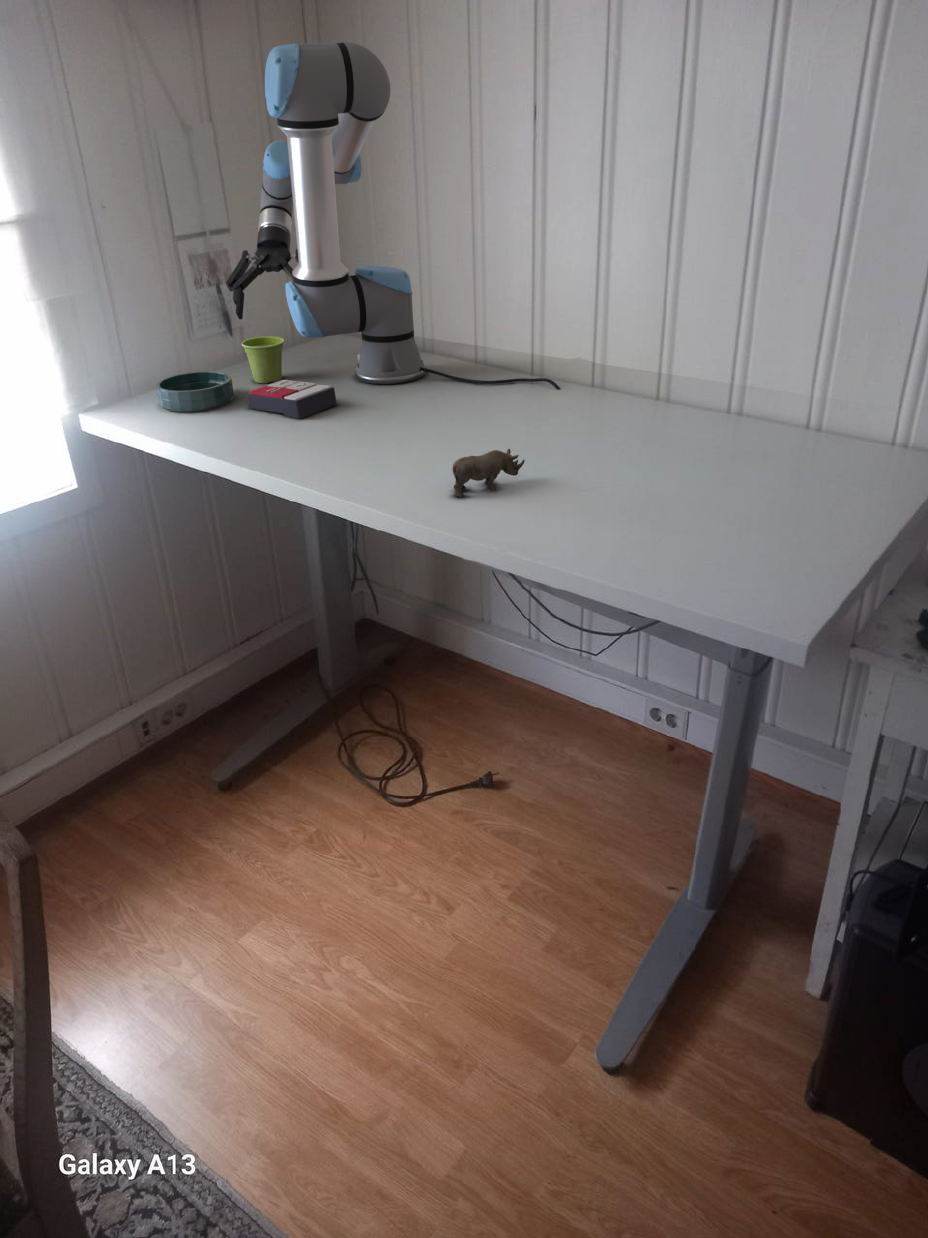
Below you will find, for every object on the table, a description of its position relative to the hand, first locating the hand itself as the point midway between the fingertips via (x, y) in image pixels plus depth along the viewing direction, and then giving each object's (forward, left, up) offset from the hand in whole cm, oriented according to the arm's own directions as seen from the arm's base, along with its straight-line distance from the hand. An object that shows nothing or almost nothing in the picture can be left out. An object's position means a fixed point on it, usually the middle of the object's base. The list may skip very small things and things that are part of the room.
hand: (268, 315), depth 219 cm
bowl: (-4, +26, -13) cm, 29 cm away
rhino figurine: (-86, +32, -13) cm, 92 cm away
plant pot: (-5, +7, -13) cm, 15 cm away
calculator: (-25, +18, -13) cm, 33 cm away
